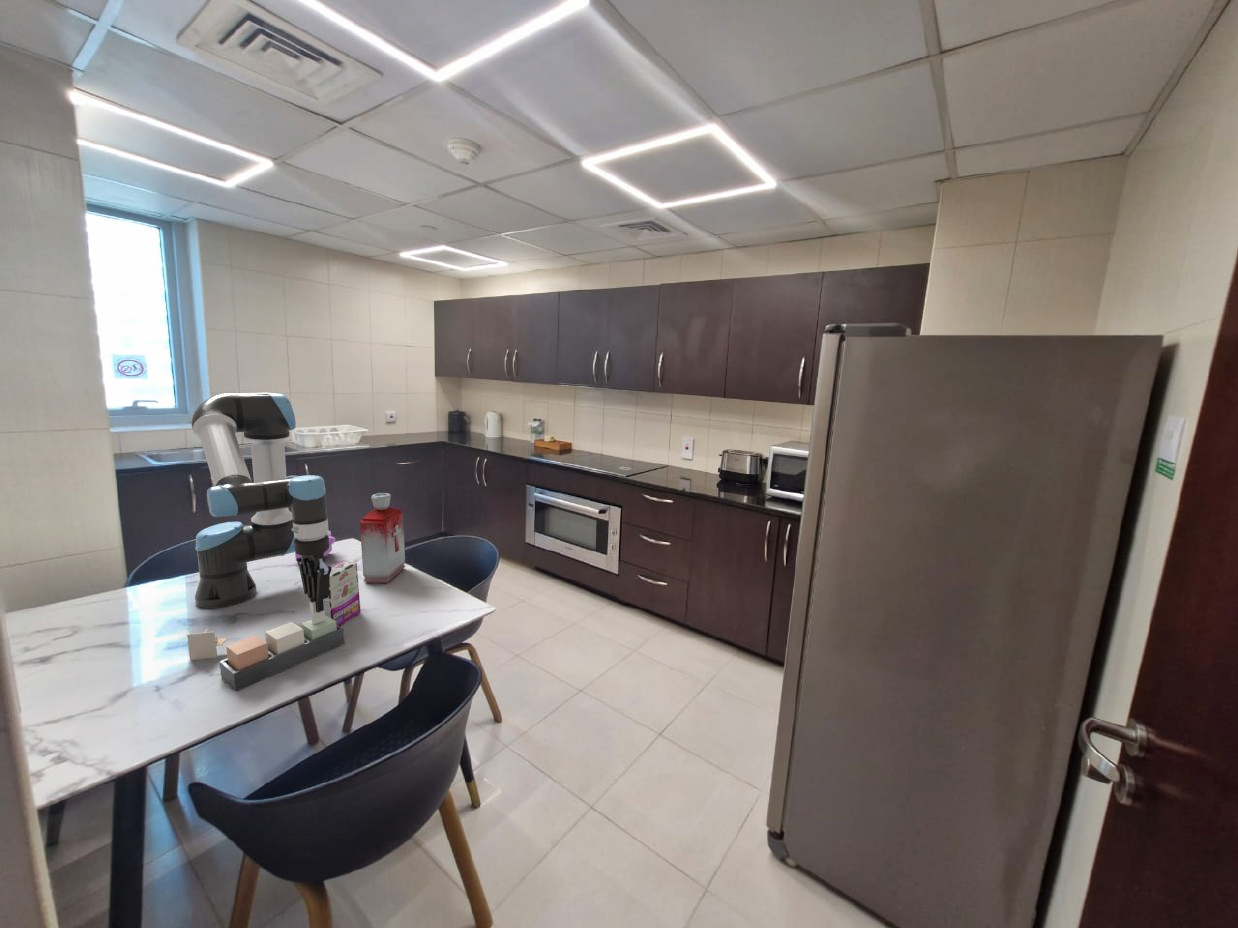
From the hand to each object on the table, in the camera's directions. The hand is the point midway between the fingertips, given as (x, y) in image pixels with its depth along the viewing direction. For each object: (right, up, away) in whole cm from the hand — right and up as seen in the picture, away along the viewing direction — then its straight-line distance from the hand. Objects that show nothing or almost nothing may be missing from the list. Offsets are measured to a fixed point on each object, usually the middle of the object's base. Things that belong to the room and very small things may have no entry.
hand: (318, 621), depth 128 cm
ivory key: (-4, -5, -6) cm, 9 cm away
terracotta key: (-9, -6, -13) cm, 16 cm away
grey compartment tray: (-5, -8, -5) cm, 11 cm away
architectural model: (-26, -8, -5) cm, 27 cm away
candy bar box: (-2, -5, +14) cm, 15 cm away
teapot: (-38, +5, +59) cm, 70 cm away
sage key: (0, -5, +1) cm, 5 cm away
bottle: (-4, +1, +46) cm, 46 cm away
